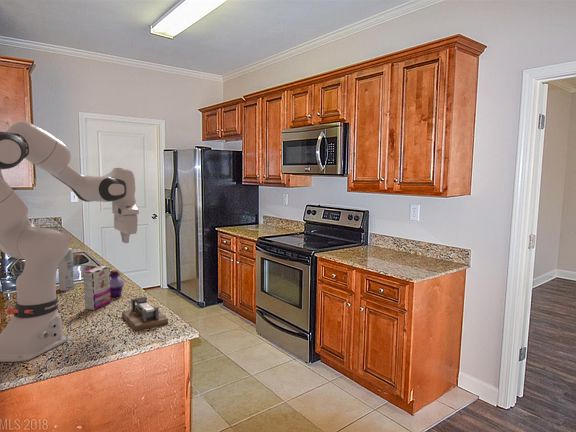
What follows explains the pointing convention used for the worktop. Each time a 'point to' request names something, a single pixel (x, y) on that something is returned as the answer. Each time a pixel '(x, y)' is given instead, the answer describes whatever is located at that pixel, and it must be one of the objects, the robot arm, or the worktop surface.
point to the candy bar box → (97, 287)
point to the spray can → (66, 272)
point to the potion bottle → (116, 284)
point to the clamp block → (144, 311)
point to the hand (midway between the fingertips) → (125, 242)
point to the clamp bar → (144, 304)
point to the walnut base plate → (137, 320)
